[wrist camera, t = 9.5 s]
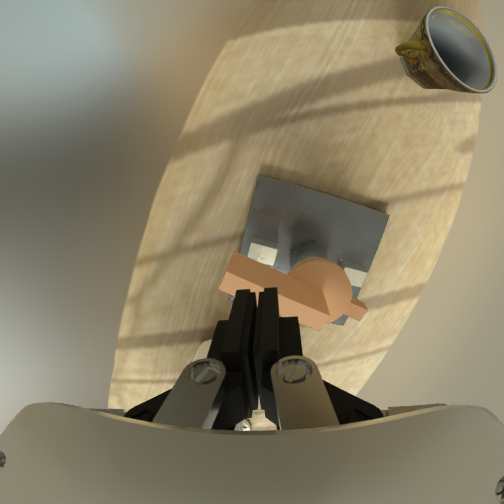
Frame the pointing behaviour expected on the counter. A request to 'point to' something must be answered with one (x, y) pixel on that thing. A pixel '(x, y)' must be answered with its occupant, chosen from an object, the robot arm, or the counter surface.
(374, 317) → the counter surface
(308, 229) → the grey plate with posts
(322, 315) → the orange lever handle
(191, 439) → the robot arm
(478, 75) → the ceramic cup
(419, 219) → the counter surface
